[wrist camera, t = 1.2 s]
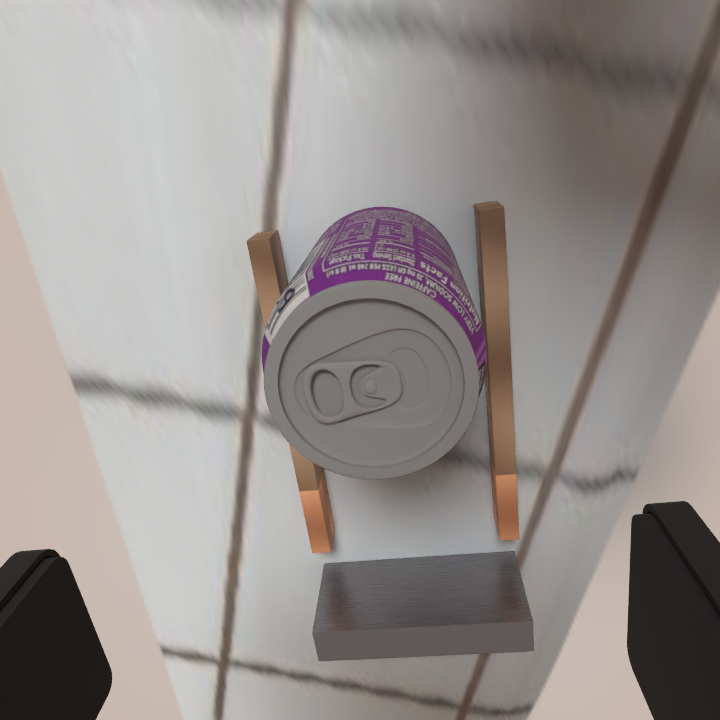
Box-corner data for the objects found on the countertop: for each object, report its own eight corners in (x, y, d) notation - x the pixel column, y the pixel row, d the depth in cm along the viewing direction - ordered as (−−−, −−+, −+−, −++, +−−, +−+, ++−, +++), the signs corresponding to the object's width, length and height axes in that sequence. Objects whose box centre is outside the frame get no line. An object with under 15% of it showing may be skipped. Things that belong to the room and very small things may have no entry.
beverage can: (324, 360, 29) (279, 505, 18) (293, 219, 27) (217, 288, 16) (465, 339, 28) (507, 478, 17) (447, 191, 26) (482, 244, 15)
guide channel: (257, 232, 27) (227, 255, 22) (496, 201, 26) (517, 218, 21) (329, 589, 35) (318, 661, 30) (515, 578, 34) (533, 651, 29)
